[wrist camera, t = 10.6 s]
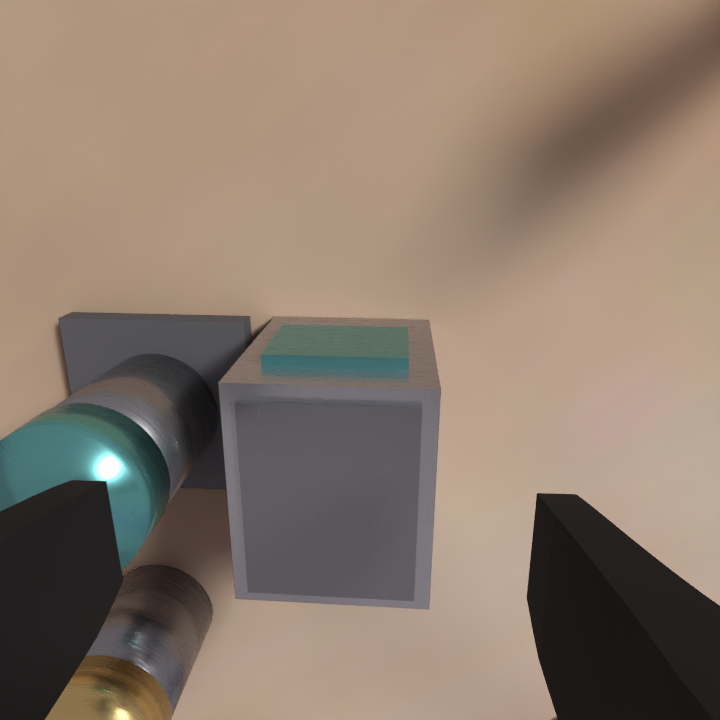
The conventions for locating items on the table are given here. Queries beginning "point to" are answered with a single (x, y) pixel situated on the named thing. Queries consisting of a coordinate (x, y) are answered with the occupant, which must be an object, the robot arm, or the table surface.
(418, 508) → the control box
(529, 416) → the table surface
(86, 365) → the pad
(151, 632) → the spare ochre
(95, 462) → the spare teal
